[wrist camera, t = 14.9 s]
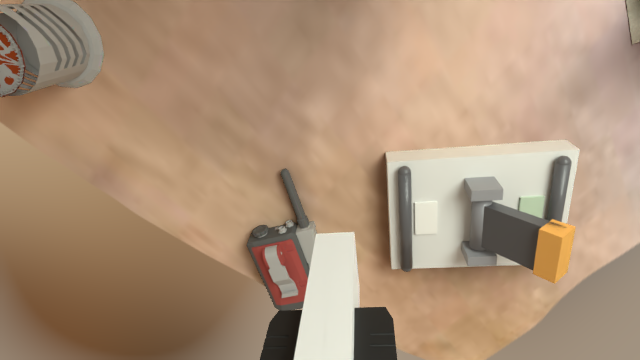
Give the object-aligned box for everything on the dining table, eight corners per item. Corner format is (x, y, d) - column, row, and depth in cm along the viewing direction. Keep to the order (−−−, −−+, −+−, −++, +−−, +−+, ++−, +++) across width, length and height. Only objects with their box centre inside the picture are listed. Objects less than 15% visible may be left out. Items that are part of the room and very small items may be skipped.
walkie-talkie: (340, 292, 55) (294, 162, 47) (339, 316, 51) (288, 178, 43) (281, 303, 56) (226, 180, 49) (275, 327, 52) (214, 196, 45)
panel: (385, 151, 45) (389, 174, 39) (565, 139, 42) (595, 161, 37) (389, 254, 51) (393, 285, 45) (548, 248, 48) (572, 280, 43)
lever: (466, 198, 41) (563, 232, 34) (480, 190, 43) (576, 222, 35) (464, 246, 44) (553, 287, 37) (477, 237, 45) (566, 276, 38)
